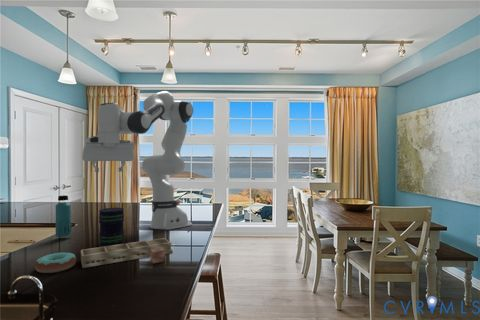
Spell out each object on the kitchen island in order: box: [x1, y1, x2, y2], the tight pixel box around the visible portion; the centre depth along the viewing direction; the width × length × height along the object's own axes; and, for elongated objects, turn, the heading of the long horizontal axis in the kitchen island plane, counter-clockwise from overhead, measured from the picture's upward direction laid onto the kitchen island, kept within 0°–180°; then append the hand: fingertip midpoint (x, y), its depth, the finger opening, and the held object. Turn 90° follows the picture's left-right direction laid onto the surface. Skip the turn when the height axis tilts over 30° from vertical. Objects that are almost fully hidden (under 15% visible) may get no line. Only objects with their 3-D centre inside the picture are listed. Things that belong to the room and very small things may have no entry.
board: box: [80, 237, 173, 269], centre depth 111 cm, size 31×10×4 cm, turn 121°
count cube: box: [149, 248, 166, 264], centre depth 105 cm, size 4×4×4 cm
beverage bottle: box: [54, 195, 72, 238], centre depth 137 cm, size 6×7×20 cm
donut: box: [34, 252, 77, 274], centre depth 99 cm, size 12×12×4 cm
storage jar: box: [98, 207, 125, 247], centre depth 127 cm, size 10×10×15 cm
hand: (108, 171), depth 127 cm, fingers open, 8 cm apart
